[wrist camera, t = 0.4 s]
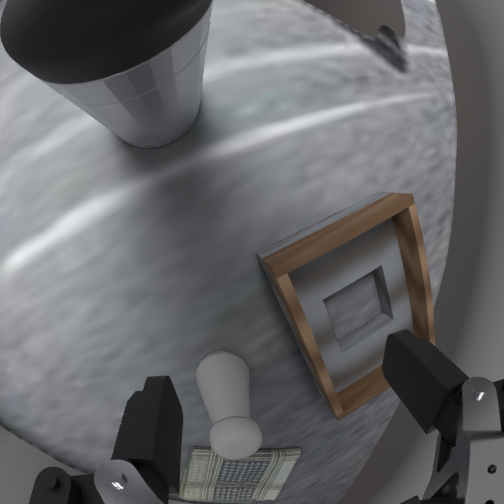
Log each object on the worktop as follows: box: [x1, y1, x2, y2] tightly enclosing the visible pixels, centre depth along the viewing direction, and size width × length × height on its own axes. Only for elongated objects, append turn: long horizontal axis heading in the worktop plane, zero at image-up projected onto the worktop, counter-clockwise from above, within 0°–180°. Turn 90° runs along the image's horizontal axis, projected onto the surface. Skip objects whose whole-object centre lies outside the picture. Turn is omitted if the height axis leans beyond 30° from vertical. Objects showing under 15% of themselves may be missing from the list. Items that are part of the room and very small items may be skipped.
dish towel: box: [179, 446, 301, 504], centre depth 35 cm, size 19×18×3 cm
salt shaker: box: [196, 349, 262, 459], centre depth 24 cm, size 6×6×13 cm
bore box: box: [256, 192, 435, 420], centre depth 29 cm, size 22×16×6 cm
